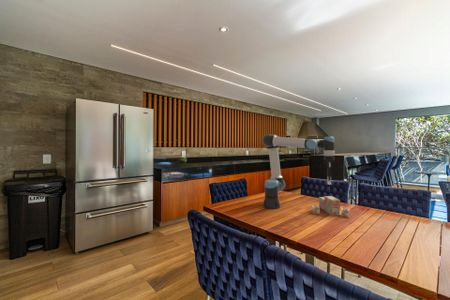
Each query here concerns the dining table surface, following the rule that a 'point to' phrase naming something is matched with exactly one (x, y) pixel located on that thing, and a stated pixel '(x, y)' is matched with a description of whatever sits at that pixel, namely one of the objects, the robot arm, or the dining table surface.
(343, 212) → the marked cube right
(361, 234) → the dining table surface
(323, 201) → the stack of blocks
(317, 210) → the marked cube left
